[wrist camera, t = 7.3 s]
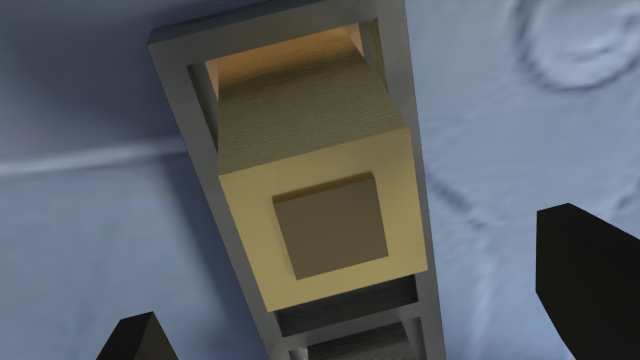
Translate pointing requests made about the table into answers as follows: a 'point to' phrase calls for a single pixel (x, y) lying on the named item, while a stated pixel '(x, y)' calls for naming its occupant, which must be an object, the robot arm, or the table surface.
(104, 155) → the table surface
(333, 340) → the square block
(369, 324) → the rail
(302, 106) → the tan hollow block
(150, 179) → the table surface
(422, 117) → the table surface
